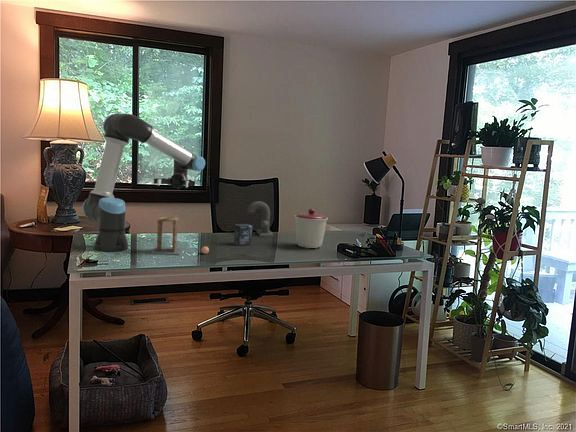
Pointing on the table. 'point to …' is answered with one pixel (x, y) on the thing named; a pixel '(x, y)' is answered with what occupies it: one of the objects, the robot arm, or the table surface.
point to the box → (243, 234)
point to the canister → (310, 229)
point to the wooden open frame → (159, 232)
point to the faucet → (265, 219)
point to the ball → (205, 250)
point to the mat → (166, 251)
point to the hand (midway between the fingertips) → (172, 183)
